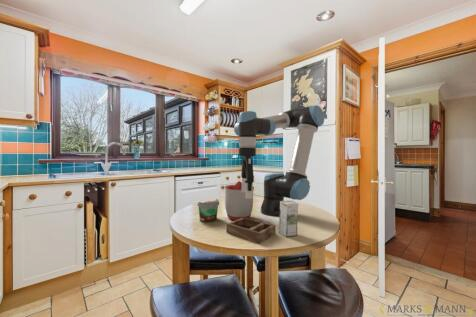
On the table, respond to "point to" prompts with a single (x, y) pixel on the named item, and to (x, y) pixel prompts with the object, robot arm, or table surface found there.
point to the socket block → (251, 229)
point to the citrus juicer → (237, 202)
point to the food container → (208, 211)
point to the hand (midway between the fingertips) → (246, 195)
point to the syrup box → (288, 218)
